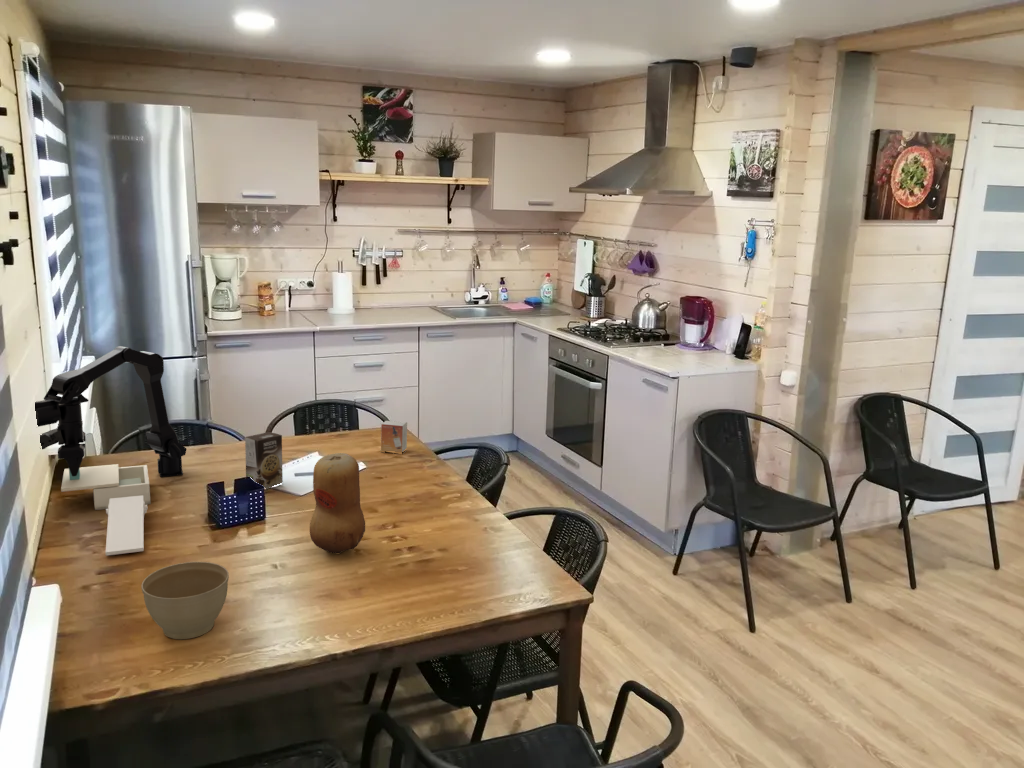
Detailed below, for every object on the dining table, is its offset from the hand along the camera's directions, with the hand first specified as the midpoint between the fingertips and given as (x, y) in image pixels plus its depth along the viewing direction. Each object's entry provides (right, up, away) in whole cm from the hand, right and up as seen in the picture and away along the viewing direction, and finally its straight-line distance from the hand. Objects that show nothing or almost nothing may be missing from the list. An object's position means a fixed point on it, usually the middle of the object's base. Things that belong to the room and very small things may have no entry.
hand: (74, 473), depth 225 cm
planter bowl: (+57, -24, -63) cm, 88 cm away
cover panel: (+4, -2, +2) cm, 4 cm away
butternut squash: (+79, -17, -24) cm, 84 cm away
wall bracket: (+24, -14, -19) cm, 33 cm away
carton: (+10, -7, +7) cm, 14 cm away
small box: (+81, +1, +60) cm, 100 cm away
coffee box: (+47, -6, +19) cm, 52 cm away
